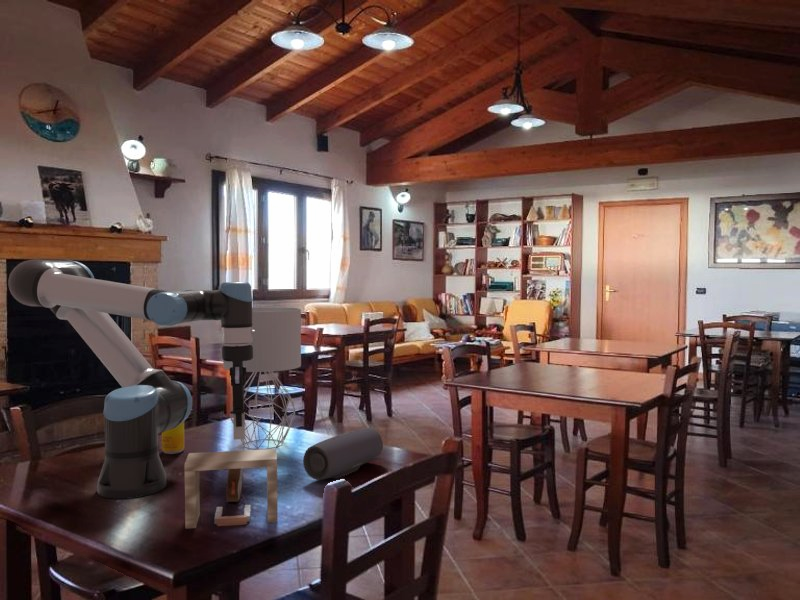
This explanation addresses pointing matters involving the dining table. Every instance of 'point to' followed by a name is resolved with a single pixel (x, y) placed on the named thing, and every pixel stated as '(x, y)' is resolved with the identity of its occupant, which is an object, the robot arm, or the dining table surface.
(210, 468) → the overhang
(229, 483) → the tin
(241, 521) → the grey and orange bracket
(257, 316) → the table lamp
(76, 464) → the dining table surface
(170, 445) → the beer can
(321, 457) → the bluetooth speaker
